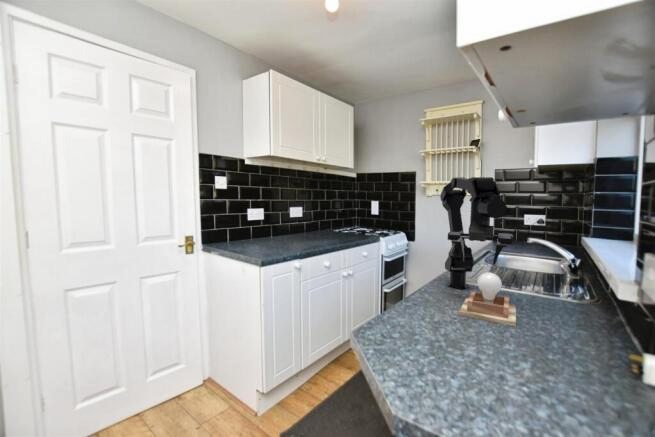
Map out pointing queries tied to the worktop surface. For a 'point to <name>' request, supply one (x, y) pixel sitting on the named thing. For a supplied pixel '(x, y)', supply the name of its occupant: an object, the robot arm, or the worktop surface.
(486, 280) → the lightbulb
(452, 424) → the worktop surface
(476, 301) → the holder
